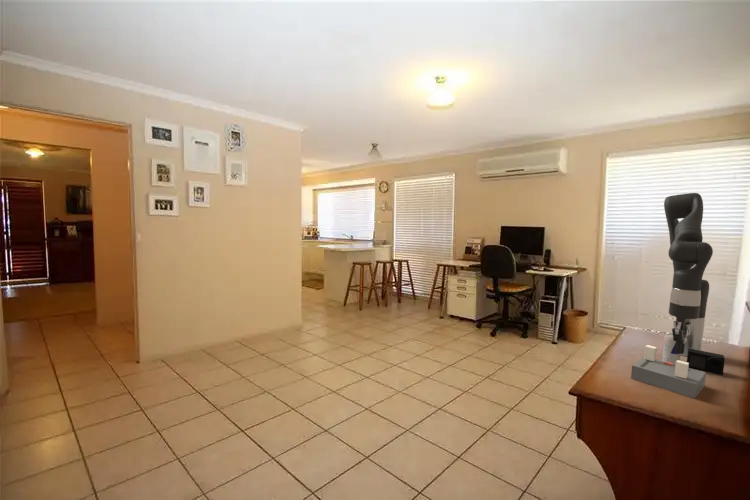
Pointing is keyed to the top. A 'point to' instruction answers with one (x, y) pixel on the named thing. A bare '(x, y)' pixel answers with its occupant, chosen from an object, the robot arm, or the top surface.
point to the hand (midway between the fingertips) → (679, 352)
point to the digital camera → (705, 361)
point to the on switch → (650, 353)
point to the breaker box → (668, 377)
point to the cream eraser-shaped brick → (681, 369)
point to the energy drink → (670, 350)
